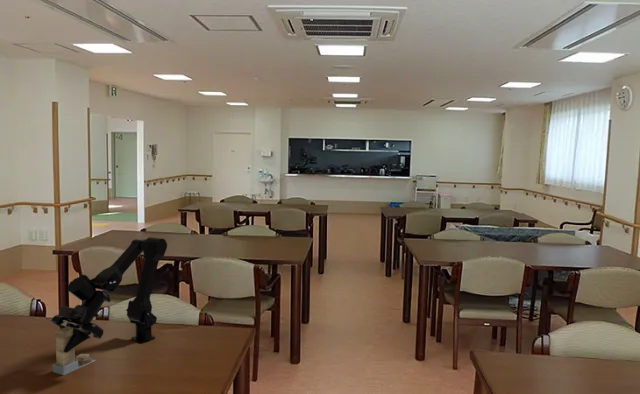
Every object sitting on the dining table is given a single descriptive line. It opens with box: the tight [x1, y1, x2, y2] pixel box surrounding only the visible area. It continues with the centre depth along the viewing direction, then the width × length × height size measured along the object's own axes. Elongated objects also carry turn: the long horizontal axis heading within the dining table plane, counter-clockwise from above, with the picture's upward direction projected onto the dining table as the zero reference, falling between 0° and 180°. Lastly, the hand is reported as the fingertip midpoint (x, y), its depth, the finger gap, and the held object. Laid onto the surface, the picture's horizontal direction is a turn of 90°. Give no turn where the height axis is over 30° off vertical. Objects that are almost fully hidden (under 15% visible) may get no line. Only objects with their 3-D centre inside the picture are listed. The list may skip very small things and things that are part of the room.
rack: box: [52, 358, 97, 376], centre depth 157 cm, size 12×5×4 cm, turn 155°
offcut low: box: [75, 356, 93, 367], centre depth 159 cm, size 4×4×1 cm
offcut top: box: [75, 353, 90, 361], centre depth 159 cm, size 3×3×1 cm
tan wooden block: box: [54, 327, 76, 367], centre depth 153 cm, size 4×3×13 cm
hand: (61, 351), depth 152 cm, fingers closed on tan wooden block, 3 cm apart
